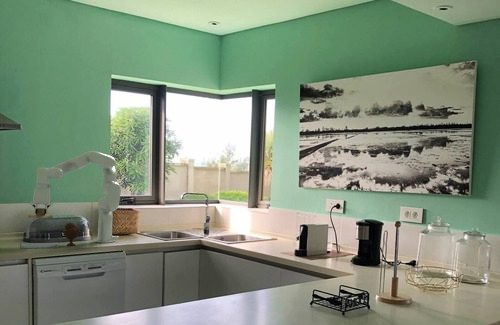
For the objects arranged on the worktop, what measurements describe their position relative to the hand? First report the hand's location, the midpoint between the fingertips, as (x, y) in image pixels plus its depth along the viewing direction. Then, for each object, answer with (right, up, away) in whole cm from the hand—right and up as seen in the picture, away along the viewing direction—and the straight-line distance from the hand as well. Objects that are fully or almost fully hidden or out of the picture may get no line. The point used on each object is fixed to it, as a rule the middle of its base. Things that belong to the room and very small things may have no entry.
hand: (40, 214), depth 321 cm
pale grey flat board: (-1, -20, 0) cm, 20 cm away
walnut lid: (0, -1, 0) cm, 1 cm away
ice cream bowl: (+17, -21, +7) cm, 28 cm away
